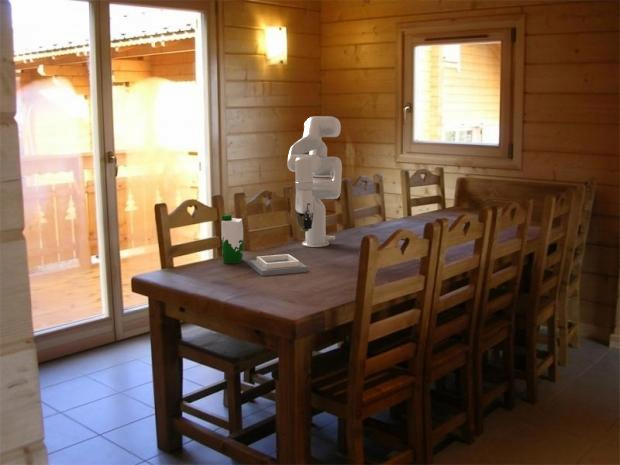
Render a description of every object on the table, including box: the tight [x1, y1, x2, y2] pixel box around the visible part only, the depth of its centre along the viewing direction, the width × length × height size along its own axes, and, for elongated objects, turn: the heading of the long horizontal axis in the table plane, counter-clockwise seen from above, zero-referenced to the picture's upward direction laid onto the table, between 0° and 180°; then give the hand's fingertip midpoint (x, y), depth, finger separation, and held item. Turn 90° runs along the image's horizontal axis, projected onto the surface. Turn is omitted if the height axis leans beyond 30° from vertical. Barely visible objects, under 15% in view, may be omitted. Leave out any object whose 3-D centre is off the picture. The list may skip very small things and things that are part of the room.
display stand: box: [248, 253, 308, 277], centre depth 295 cm, size 19×19×4 cm
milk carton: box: [220, 213, 244, 264], centre depth 306 cm, size 9×9×20 cm
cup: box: [295, 211, 314, 233], centre depth 309 cm, size 8×7×8 cm
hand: (304, 226), depth 310 cm, fingers closed on cup, 6 cm apart
